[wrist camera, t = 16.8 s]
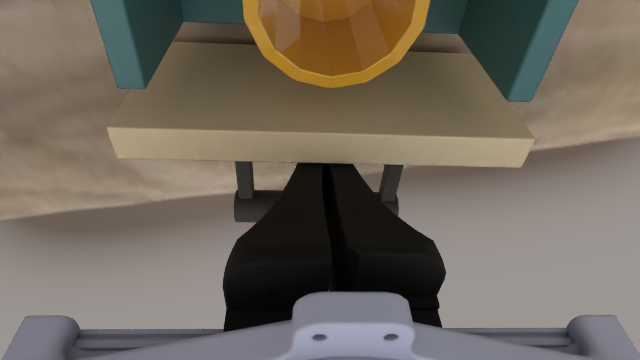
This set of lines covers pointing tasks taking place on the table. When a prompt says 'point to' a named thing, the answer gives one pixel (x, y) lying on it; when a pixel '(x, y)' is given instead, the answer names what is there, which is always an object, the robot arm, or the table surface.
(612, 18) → the table surface
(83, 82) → the table surface
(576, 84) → the table surface
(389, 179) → the drawer
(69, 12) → the table surface
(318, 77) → the cup
